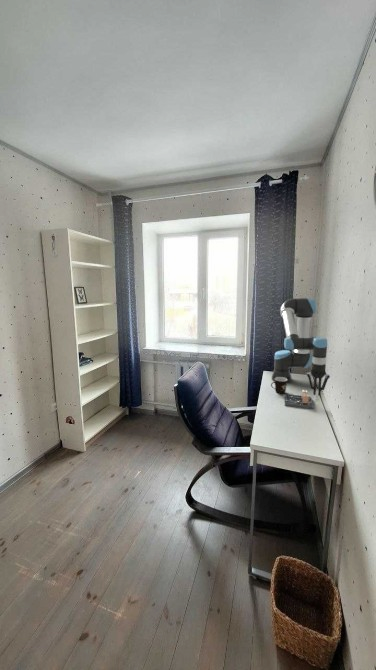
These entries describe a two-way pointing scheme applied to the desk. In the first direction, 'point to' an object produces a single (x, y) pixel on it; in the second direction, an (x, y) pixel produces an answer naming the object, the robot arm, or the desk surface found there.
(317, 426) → the desk surface
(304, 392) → the fader cream
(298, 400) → the console
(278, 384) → the coffee mug
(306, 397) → the fader terracotta
